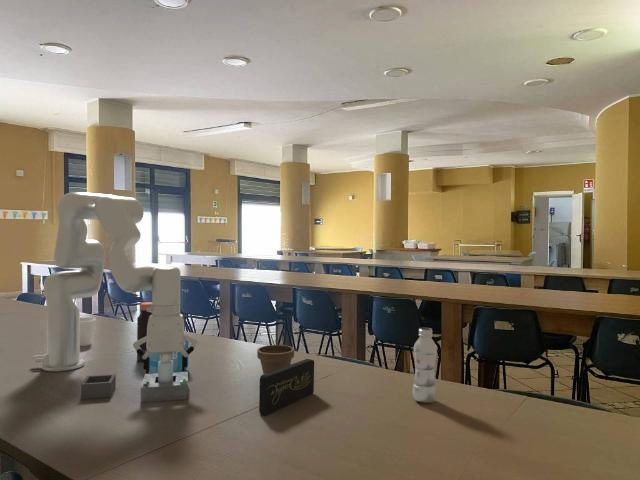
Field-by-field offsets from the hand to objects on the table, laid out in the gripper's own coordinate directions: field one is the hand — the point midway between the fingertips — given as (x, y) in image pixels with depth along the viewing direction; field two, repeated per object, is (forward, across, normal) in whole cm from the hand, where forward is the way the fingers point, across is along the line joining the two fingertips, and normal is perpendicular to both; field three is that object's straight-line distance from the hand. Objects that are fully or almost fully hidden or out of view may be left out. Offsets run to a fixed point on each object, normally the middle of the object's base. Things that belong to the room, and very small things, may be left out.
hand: (165, 371), depth 133 cm
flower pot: (+6, +32, +4) cm, 33 cm away
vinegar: (+6, -8, +37) cm, 38 cm away
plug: (+6, 0, 0) cm, 6 cm away
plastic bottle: (+6, +69, -22) cm, 73 cm away
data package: (+7, 0, +20) cm, 21 cm away
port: (+6, 0, 0) cm, 6 cm away
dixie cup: (+6, -34, +65) cm, 74 cm away
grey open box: (+6, -18, +4) cm, 19 cm away
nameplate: (+7, +32, -15) cm, 36 cm away
